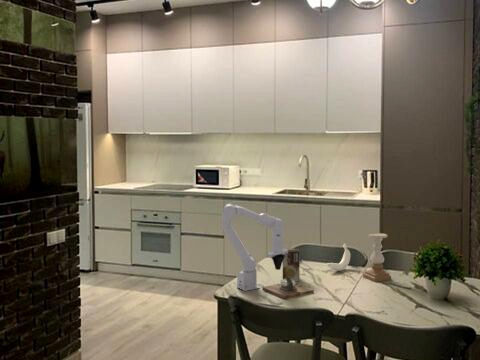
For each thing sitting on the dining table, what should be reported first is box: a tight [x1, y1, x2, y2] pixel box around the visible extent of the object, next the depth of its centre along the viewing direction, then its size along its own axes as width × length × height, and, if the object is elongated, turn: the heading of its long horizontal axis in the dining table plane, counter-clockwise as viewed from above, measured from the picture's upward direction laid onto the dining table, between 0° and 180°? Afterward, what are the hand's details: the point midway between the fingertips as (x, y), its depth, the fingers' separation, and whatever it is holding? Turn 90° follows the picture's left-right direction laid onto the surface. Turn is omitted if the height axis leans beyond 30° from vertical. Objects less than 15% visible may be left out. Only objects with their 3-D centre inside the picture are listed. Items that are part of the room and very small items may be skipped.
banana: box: [326, 242, 351, 272], centre depth 296 cm, size 5×19×15 cm, turn 136°
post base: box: [262, 282, 315, 300], centre depth 258 cm, size 18×18×2 cm
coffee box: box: [282, 248, 300, 282], centre depth 279 cm, size 9×6×16 cm
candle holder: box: [362, 232, 392, 283], centre depth 279 cm, size 11×11×24 cm
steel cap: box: [280, 278, 296, 290], centre depth 255 cm, size 12×7×4 cm, turn 3°
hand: (277, 269), depth 264 cm, fingers closed
